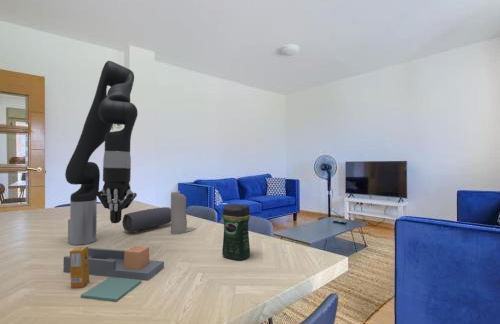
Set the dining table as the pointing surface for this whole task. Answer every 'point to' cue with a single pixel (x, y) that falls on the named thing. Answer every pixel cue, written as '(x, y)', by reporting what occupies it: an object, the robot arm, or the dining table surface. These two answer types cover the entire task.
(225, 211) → the coffee jar
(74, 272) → the supplement box
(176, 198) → the candle
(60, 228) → the dining table surface
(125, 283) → the pad
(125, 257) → the block
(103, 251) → the channel
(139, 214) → the bluetooth speaker
